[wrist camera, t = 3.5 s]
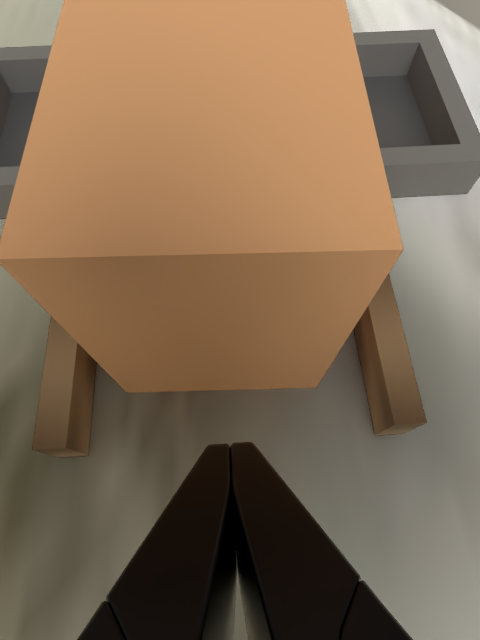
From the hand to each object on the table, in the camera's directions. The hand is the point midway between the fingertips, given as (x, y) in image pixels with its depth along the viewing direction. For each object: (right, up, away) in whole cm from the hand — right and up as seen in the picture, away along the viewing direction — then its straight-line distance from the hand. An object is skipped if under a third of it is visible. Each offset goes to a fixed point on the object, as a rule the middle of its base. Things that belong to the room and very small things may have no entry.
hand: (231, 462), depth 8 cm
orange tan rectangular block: (-1, +7, +11) cm, 13 cm away
